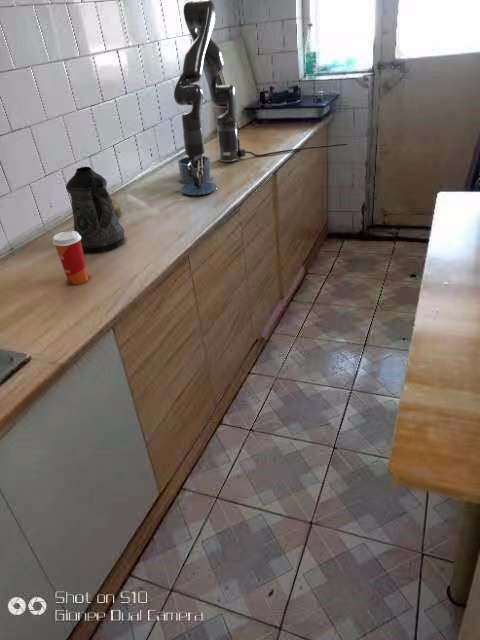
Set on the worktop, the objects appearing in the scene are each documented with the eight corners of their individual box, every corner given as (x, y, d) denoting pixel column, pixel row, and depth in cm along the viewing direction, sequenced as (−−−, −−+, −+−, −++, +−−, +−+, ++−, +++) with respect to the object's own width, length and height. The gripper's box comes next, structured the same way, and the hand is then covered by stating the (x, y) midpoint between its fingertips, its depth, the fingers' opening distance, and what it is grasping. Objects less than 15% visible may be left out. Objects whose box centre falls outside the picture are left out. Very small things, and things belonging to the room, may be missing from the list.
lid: (204, 182, 204) (203, 166, 200) (224, 190, 194) (222, 173, 190) (175, 190, 197) (172, 174, 194) (193, 199, 187) (191, 182, 184)
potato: (129, 210, 184) (125, 190, 179) (112, 223, 174) (107, 202, 169) (111, 209, 186) (106, 189, 182) (92, 222, 176) (87, 201, 172)
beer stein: (94, 231, 169) (76, 159, 155) (142, 235, 163) (128, 161, 149) (65, 251, 156) (43, 175, 142) (116, 257, 150) (98, 178, 136)
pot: (200, 172, 219) (198, 154, 214) (217, 179, 209) (215, 159, 204) (174, 179, 212) (172, 160, 208) (190, 186, 203) (188, 166, 198)
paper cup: (68, 275, 142) (55, 231, 134) (94, 272, 142) (82, 228, 134) (62, 288, 135) (48, 242, 127) (89, 285, 136) (77, 240, 128)
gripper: (193, 146, 178) (198, 191, 188) (210, 137, 188) (214, 180, 198) (176, 145, 181) (182, 190, 191) (193, 136, 191) (198, 179, 201)
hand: (198, 184), depth 194 cm, fingers closed on lid, 2 cm apart
